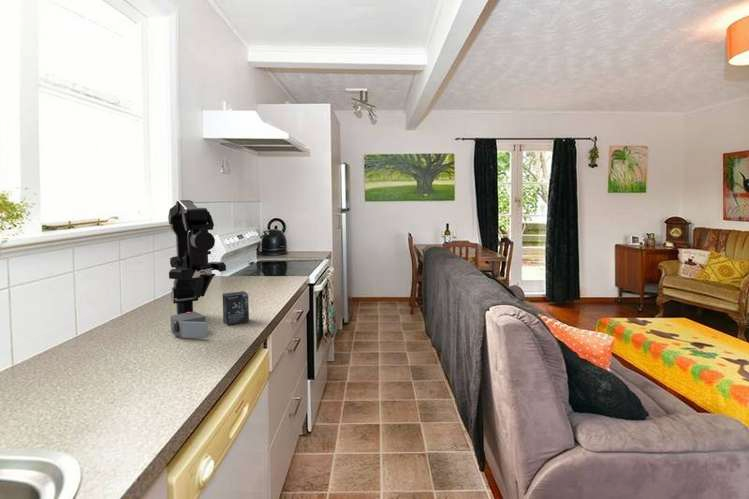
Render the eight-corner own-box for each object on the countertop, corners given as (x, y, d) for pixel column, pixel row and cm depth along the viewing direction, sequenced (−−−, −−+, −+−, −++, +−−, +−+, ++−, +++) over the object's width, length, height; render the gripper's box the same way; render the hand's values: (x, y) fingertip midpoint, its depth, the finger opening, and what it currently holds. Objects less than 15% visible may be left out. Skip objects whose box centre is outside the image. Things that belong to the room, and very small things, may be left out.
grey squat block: (167, 332, 142) (166, 315, 141) (195, 326, 149) (194, 310, 148) (176, 338, 136) (175, 320, 135) (206, 332, 142) (205, 315, 141)
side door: (181, 337, 136) (180, 321, 136) (207, 337, 135) (206, 321, 135) (179, 337, 136) (178, 321, 135) (206, 338, 135) (205, 322, 134)
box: (227, 325, 150) (226, 296, 149) (223, 322, 155) (221, 293, 154) (249, 322, 154) (248, 293, 153) (244, 318, 159) (243, 290, 158)
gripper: (199, 244, 146) (202, 289, 148) (153, 250, 129) (156, 301, 131) (226, 245, 142) (228, 292, 144) (182, 251, 125) (184, 304, 126)
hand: (200, 297), depth 136 cm, fingers closed
